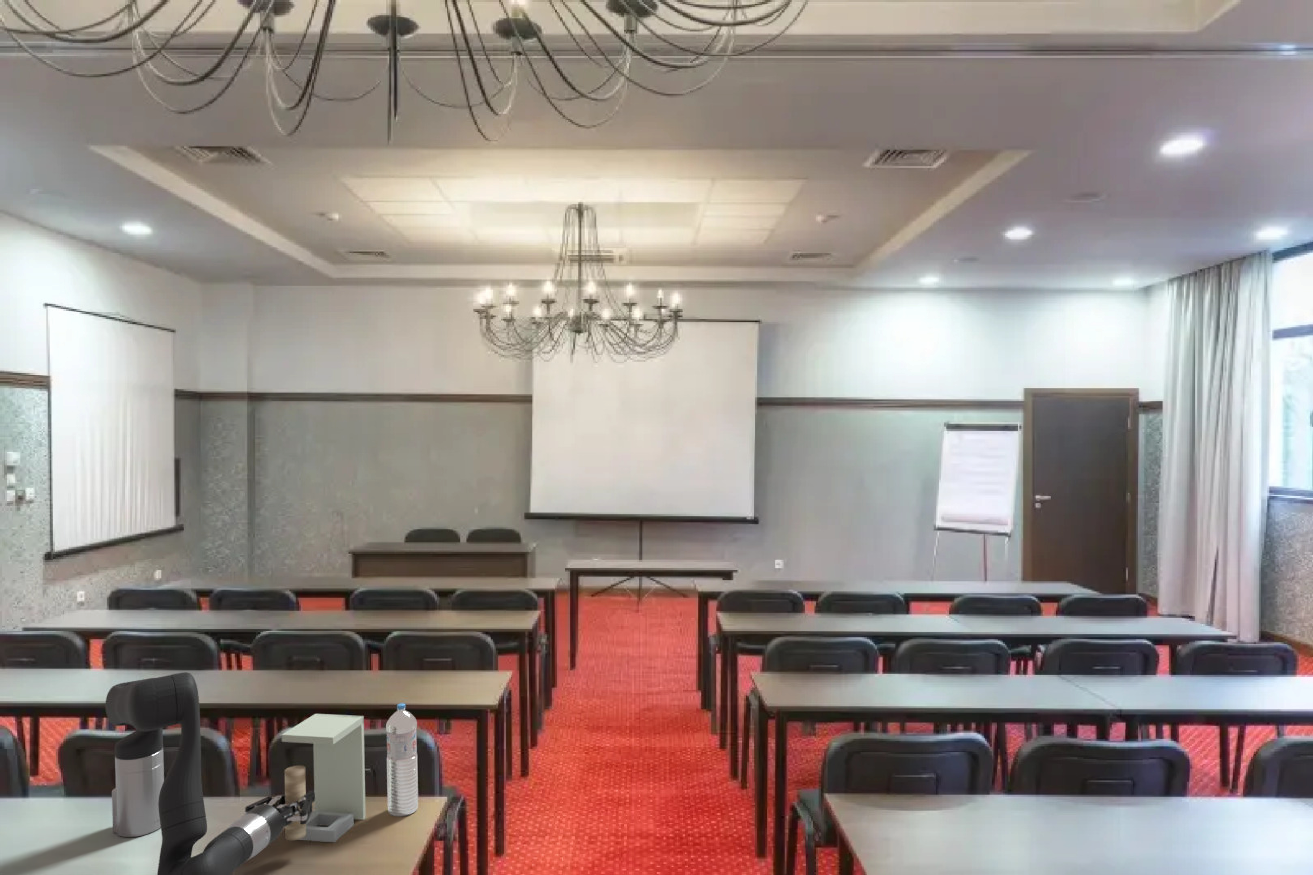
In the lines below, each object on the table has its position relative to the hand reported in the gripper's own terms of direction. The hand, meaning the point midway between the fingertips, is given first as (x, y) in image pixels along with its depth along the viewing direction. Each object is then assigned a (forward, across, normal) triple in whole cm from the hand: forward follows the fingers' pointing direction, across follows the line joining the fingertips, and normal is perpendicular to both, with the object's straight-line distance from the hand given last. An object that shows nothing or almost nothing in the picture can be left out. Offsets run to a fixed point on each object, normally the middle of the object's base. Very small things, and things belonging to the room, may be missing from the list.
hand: (302, 794), depth 179 cm
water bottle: (+20, -13, +12) cm, 26 cm away
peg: (-3, 0, +8) cm, 8 cm away
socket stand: (+8, 0, +12) cm, 14 cm away
